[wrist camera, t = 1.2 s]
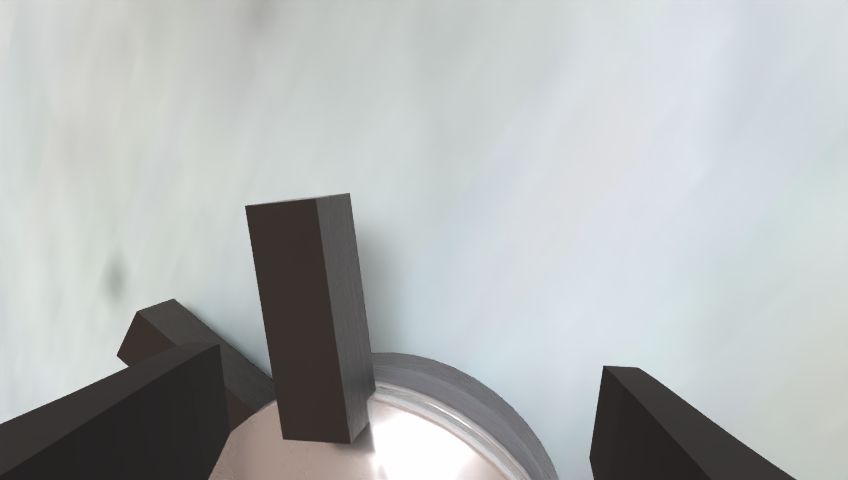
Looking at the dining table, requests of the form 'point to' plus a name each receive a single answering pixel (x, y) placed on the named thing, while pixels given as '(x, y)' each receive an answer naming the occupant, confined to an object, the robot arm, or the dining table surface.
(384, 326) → the dining table surface
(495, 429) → the pot
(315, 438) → the pressure cooker lid
